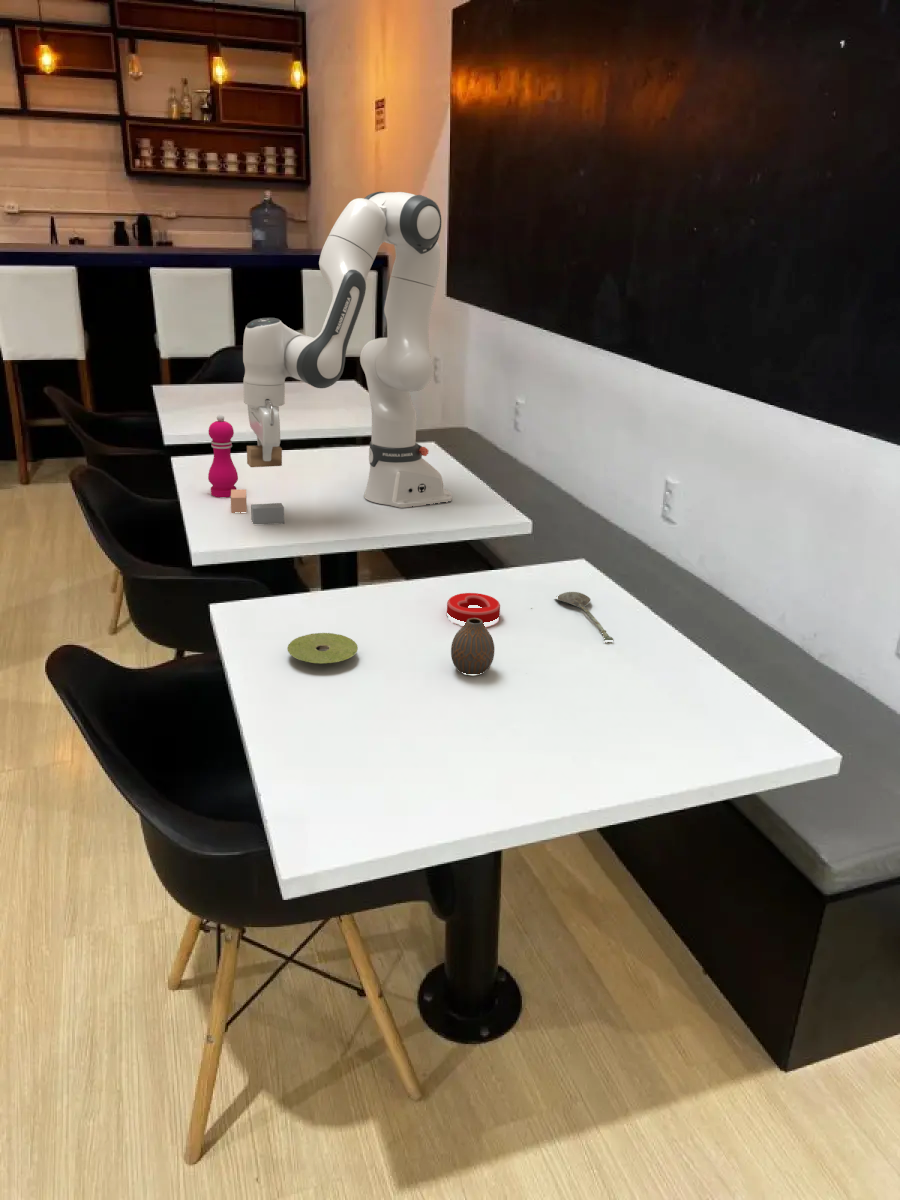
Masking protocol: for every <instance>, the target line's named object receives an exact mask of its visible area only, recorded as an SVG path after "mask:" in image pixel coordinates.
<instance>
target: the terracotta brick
mask: <svg viewBox="0 0 900 1200" xmlns="http://www.w3.org/2000/svg"><path fill="white" fill-rule="evenodd" d="M247 506H248V505H247V489H244V488H243V489H241V488H240V489H236V490H231V497H230V508H231V513H235V512H240V514H242V513H241V512H247V511H248V509H247ZM247 513H248V512H247Z"/></svg>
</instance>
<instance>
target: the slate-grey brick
mask: <svg viewBox="0 0 900 1200" xmlns="http://www.w3.org/2000/svg"><path fill="white" fill-rule="evenodd" d="M250 520H252V521H251V523H252V522H253V523H252V525H253V524H264V525H276V524H277V525H278V524H281V523H282V524H285V507H284V505H283V504H282V502H276V503H275V502H273V503H255V504H253V503H252V504H251V503H250Z"/></svg>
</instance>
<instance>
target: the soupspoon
mask: <svg viewBox="0 0 900 1200" xmlns="http://www.w3.org/2000/svg"><path fill="white" fill-rule="evenodd" d="M558 595H559V596H558ZM558 595H557V596H558V601H561V602H563V603H567V604H569V605H572V606H575V607H577V606H578V607H577V608H579V607H580V608H579V609H581V610H582V611H583V612H584V614H586V615H587V616H588V617H589V618H590V620H591V621H592V622H593V623H594V624H595V625H596V626H597V628H598V629H599V631H600V634H601V633H603V634H602V637H603V636H604V637H603V641H604V640H613V641H614V638H613V637H611V636H610V635H609V634H608V633H607V630H606V629H604V627H603V626H602V625H601V623H600V622H599V621H598V620H597V618H596V617H595V616H594V615H593V614H592V613H591V612H590V610H589V609H588V608H586V606H587V605H588V604H590V602H591V598H590V597H589V596H588V595H587V594H584V593H581V592H579V591H567V592H566V591H565V592H563V593H560V594H558ZM604 638H605V639H604Z"/></svg>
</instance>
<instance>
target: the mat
mask: <svg viewBox="0 0 900 1200" xmlns="http://www.w3.org/2000/svg"><path fill="white" fill-rule="evenodd" d="M358 647H359V646H358V644H357V643H356V641H355V640H353V639H351V638H350V637H348V636H345V635H343V634H338V633H333V632H332V633H330V632H318V633H317V632H316V633H309V634H305V635H302V636H298V637H296V638H294V639H293V640H291V641H290V643H288V646H287V648H286V649H287V652H288V654H290V656H292V657H293V658H294V659H296V660H299V661H303V662H305V663H312V664H332V663H339V662H343V661H345V660H348V659H350V658H352V657H353V656H355V655H356V653H357V652H358V650H359V649H358Z"/></svg>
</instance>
